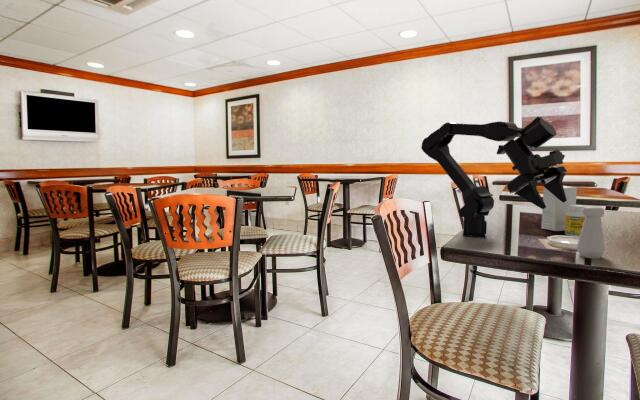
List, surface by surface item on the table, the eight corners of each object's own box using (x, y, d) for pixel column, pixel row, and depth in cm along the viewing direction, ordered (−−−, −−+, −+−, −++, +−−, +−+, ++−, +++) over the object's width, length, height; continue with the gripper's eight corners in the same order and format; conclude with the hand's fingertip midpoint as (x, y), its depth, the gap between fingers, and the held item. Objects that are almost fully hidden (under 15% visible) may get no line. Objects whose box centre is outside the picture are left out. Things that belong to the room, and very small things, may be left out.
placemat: (546, 249, 101) (546, 248, 101) (537, 239, 112) (537, 238, 112) (608, 253, 96) (608, 252, 96) (592, 243, 107) (592, 241, 107)
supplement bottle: (581, 234, 119) (583, 204, 117) (587, 237, 114) (590, 206, 112) (562, 233, 120) (564, 204, 119) (567, 236, 115) (569, 206, 114)
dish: (552, 248, 101) (552, 242, 100) (543, 239, 111) (544, 234, 111) (600, 251, 97) (601, 245, 97) (587, 241, 107) (587, 236, 107)
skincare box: (560, 227, 129) (562, 185, 127) (575, 230, 123) (578, 186, 121) (540, 228, 127) (542, 186, 125) (554, 232, 122) (557, 187, 120)
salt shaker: (609, 261, 89) (613, 208, 88) (583, 260, 90) (586, 208, 89) (596, 254, 95) (600, 205, 93) (571, 254, 96) (575, 204, 94)
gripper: (522, 145, 95) (559, 196, 89) (565, 136, 103) (601, 183, 97) (492, 169, 104) (524, 217, 98) (534, 159, 112) (565, 203, 106)
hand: (554, 204), depth 100 cm, fingers open, 9 cm apart
